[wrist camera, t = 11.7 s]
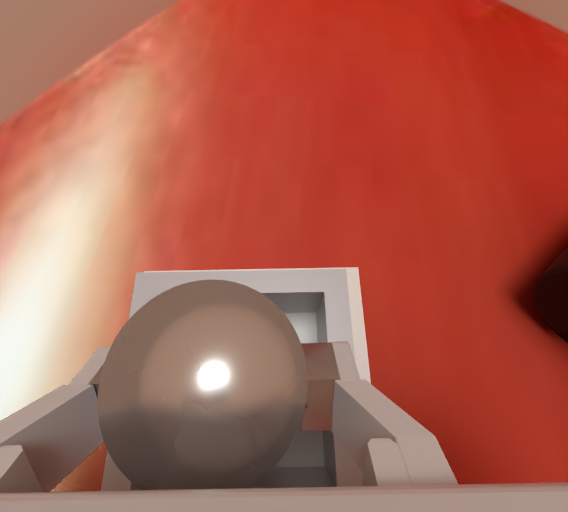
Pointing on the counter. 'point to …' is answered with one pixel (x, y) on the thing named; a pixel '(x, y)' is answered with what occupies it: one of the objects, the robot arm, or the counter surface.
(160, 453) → the brown cylinder
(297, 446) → the open square tray
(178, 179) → the counter surface
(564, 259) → the end cap
